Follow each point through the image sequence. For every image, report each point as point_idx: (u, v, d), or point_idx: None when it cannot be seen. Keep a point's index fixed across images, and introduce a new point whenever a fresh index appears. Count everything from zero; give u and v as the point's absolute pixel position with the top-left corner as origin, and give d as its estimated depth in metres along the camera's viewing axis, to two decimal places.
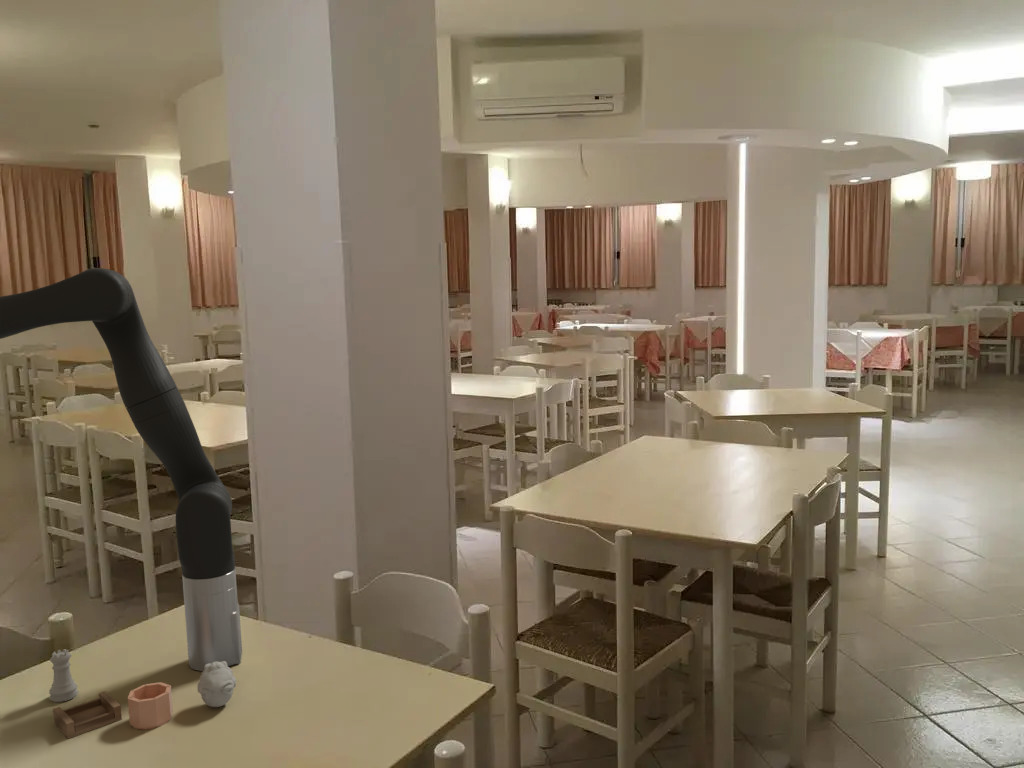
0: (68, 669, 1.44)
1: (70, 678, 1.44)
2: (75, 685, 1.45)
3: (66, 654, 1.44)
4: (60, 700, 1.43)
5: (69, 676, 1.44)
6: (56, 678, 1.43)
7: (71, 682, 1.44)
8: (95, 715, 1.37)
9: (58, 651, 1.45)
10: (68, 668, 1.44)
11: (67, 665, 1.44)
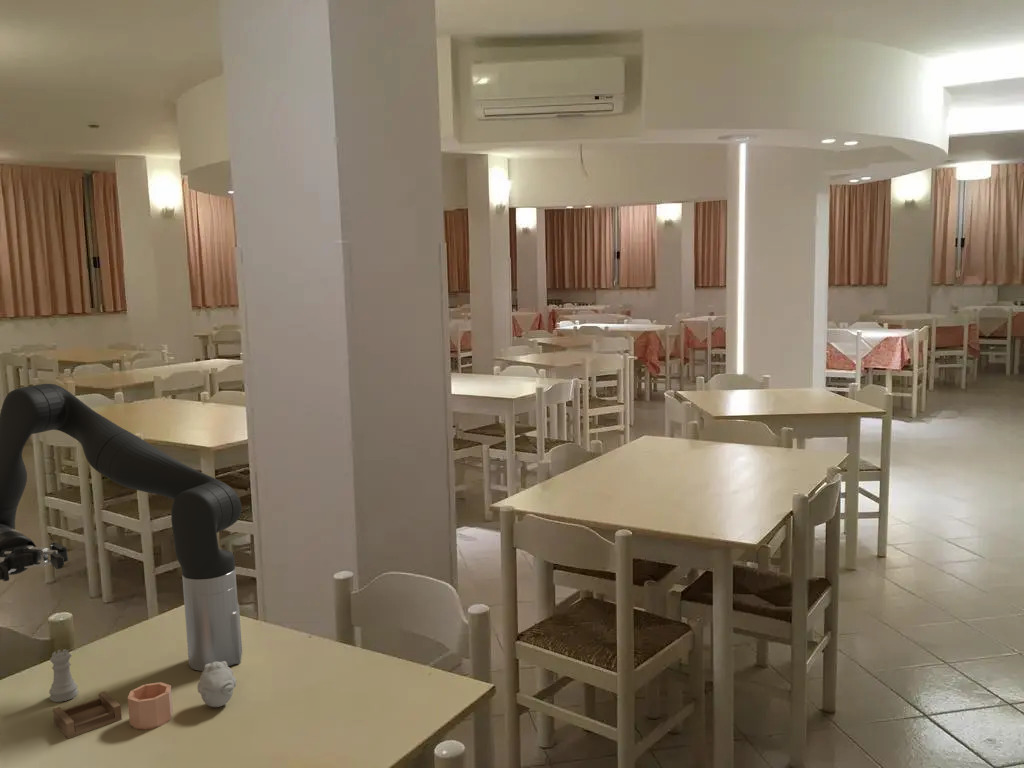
0: (68, 669, 1.44)
1: (70, 678, 1.44)
2: (75, 685, 1.45)
3: (66, 654, 1.44)
4: (60, 700, 1.43)
5: (69, 676, 1.44)
6: (56, 678, 1.43)
7: (71, 682, 1.44)
8: (95, 715, 1.37)
9: (58, 651, 1.45)
10: (68, 668, 1.44)
11: (67, 665, 1.44)
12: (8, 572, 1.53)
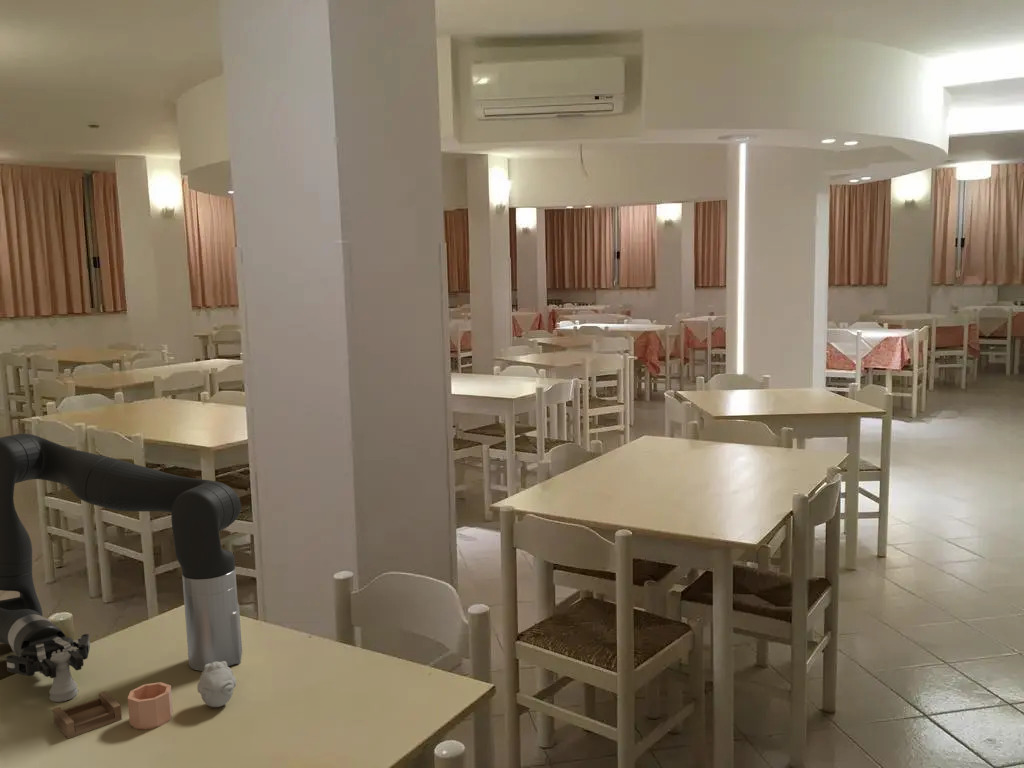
0: (68, 669, 1.44)
1: (70, 678, 1.44)
2: (74, 685, 1.45)
3: (66, 654, 1.44)
4: (60, 700, 1.43)
5: (69, 676, 1.44)
6: (56, 678, 1.43)
7: (71, 682, 1.44)
8: (95, 715, 1.37)
9: (58, 651, 1.45)
10: (68, 668, 1.44)
11: (67, 665, 1.44)
12: None
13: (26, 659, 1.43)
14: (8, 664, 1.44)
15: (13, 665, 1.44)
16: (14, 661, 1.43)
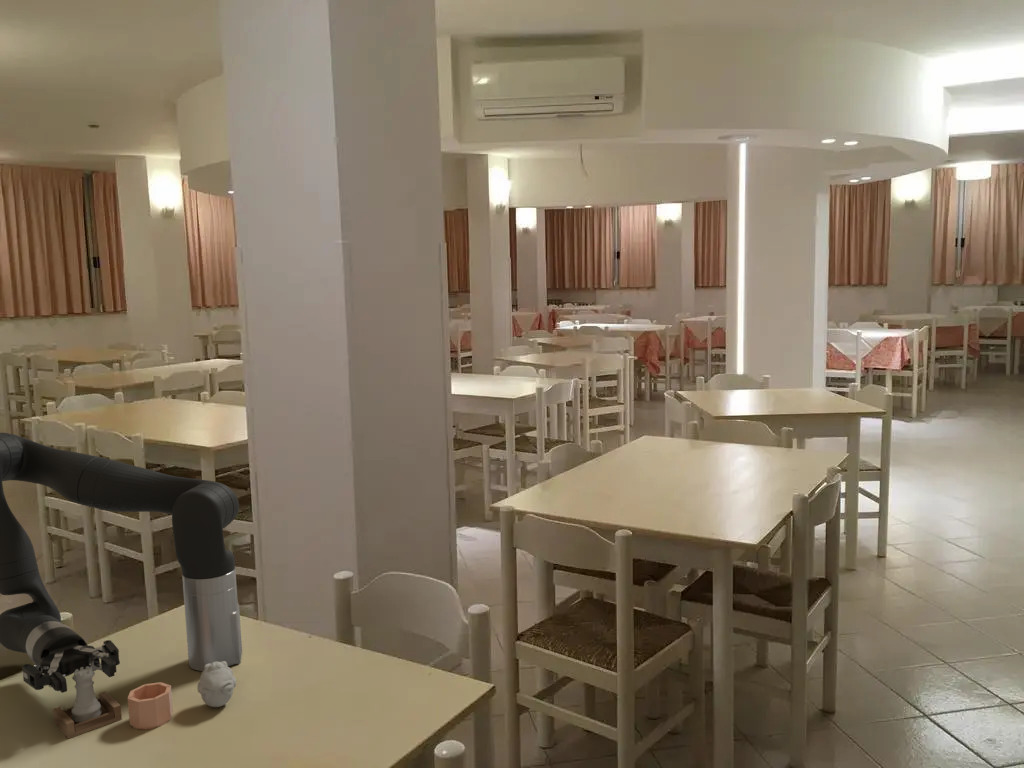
0: (91, 688, 1.36)
1: (93, 697, 1.36)
2: (98, 705, 1.36)
3: (89, 672, 1.35)
4: None
5: (92, 695, 1.36)
6: (79, 697, 1.35)
7: (94, 701, 1.36)
8: None
9: (81, 668, 1.36)
10: (91, 687, 1.36)
11: (90, 683, 1.35)
12: None
13: (37, 671, 1.34)
14: (23, 673, 1.36)
15: (27, 675, 1.35)
16: (27, 671, 1.34)
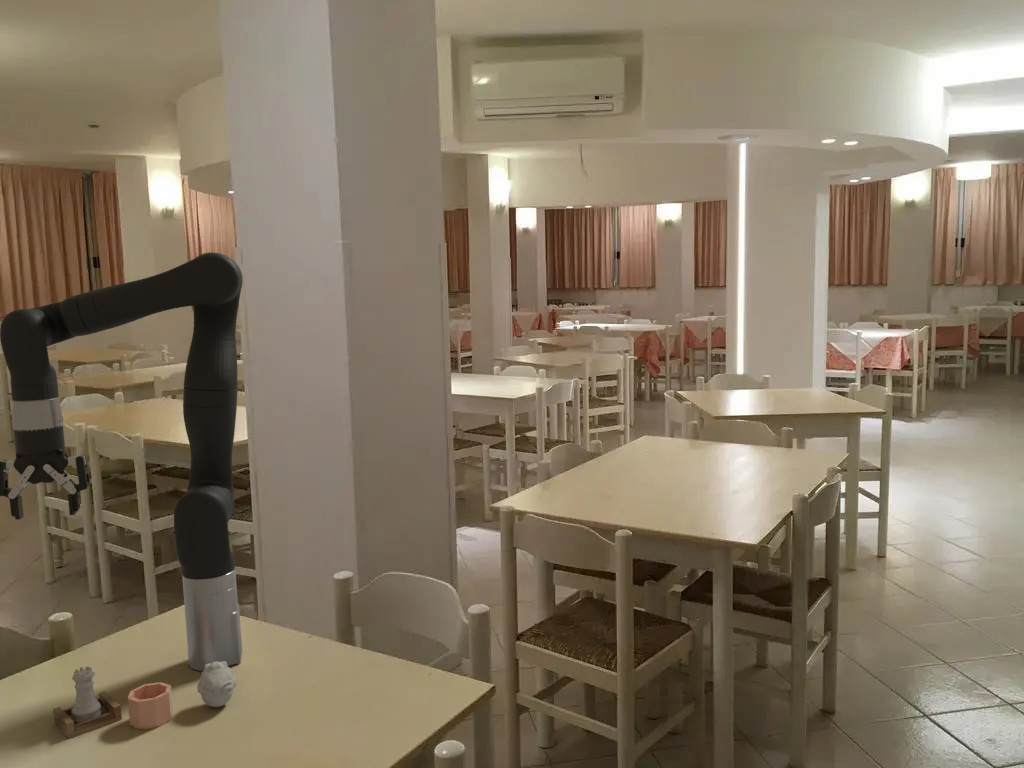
0: (91, 688, 1.36)
1: (93, 697, 1.36)
2: (98, 705, 1.36)
3: (89, 672, 1.35)
4: None
5: (92, 695, 1.36)
6: (79, 697, 1.34)
7: (94, 702, 1.36)
8: None
9: (80, 669, 1.36)
10: (91, 687, 1.36)
11: (90, 684, 1.35)
12: None
13: (1, 486, 1.44)
14: None
15: None
16: None
